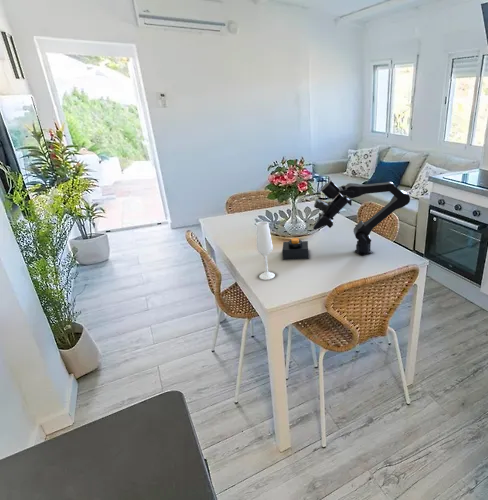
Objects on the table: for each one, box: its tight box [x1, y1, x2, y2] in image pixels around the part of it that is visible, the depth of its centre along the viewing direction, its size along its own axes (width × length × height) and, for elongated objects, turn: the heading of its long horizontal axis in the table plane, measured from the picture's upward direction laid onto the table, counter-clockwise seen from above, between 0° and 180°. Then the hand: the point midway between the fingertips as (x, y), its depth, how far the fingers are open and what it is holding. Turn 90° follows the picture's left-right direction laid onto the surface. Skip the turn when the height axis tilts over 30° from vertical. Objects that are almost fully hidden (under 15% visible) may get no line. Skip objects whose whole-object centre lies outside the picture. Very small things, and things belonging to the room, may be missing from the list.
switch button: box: [290, 237, 300, 244], centre depth 167 cm, size 4×4×2 cm
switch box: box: [281, 239, 310, 261], centre depth 169 cm, size 12×10×7 cm
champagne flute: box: [255, 220, 276, 280], centre depth 145 cm, size 7×7×24 cm
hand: (313, 228), depth 166 cm, fingers closed
